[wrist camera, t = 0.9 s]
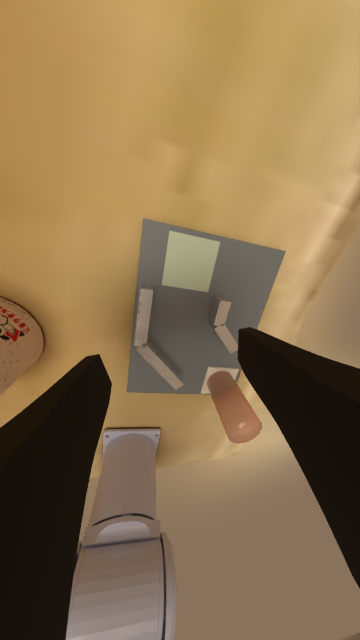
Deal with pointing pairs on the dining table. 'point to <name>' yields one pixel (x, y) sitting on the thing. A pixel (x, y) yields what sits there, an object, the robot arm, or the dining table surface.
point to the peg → (233, 408)
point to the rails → (153, 353)
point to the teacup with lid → (17, 343)
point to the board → (197, 302)
